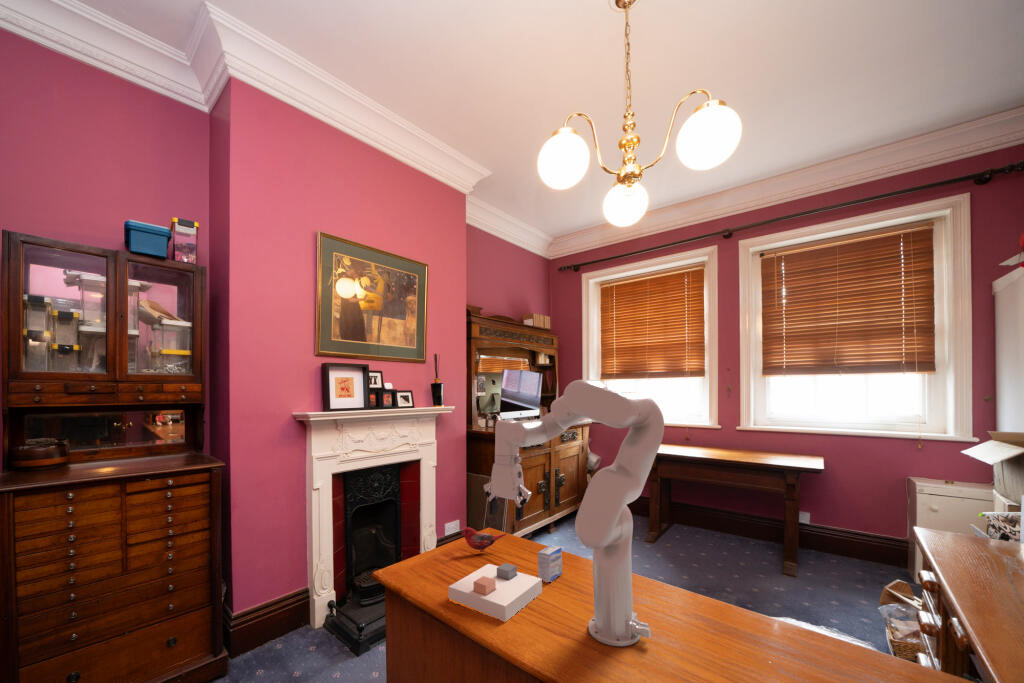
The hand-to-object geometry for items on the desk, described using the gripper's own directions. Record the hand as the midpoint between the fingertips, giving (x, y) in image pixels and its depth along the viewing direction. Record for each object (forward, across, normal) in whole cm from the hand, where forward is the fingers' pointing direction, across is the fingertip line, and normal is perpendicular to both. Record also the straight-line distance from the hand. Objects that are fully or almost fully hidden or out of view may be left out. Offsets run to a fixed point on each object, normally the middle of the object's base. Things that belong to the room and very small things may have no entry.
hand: (506, 516), depth 128 cm
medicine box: (+21, -8, -15) cm, 27 cm away
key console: (+21, 0, +6) cm, 22 cm away
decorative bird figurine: (+22, +22, -18) cm, 36 cm away
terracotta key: (+18, 0, +11) cm, 21 cm away
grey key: (+18, 0, 0) cm, 18 cm away
